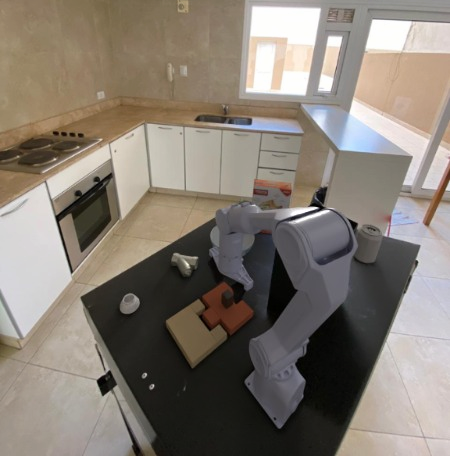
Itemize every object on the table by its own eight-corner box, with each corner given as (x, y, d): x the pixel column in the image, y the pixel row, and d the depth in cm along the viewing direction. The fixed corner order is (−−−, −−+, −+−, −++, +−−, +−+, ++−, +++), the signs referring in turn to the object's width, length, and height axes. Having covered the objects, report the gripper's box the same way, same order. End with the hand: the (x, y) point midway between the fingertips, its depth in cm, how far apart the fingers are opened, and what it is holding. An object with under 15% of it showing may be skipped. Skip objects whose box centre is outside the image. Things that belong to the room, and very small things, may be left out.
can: (375, 254, 91) (384, 227, 86) (374, 268, 85) (383, 239, 80) (352, 246, 94) (360, 219, 90) (350, 258, 88) (358, 230, 84)
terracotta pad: (252, 316, 67) (254, 301, 65) (221, 343, 61) (222, 327, 59) (224, 286, 76) (224, 272, 74) (193, 307, 69) (193, 292, 67)
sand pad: (226, 339, 62) (227, 333, 61) (192, 368, 55) (192, 363, 55) (198, 303, 70) (198, 298, 69) (166, 326, 64) (165, 320, 63)
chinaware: (247, 275, 80) (249, 256, 77) (203, 262, 84) (203, 244, 81) (256, 244, 93) (258, 227, 90) (218, 235, 97) (218, 218, 94)
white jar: (119, 301, 70) (120, 317, 65) (118, 294, 68) (119, 309, 64) (138, 295, 72) (140, 310, 67) (137, 287, 71) (140, 302, 66)
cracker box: (248, 232, 100) (253, 185, 92) (249, 223, 105) (254, 178, 98) (284, 237, 98) (292, 189, 90) (284, 227, 103) (291, 182, 96)
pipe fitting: (192, 281, 77) (198, 263, 83) (191, 272, 76) (198, 255, 82) (167, 276, 79) (175, 259, 85) (166, 267, 77) (174, 250, 83)
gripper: (263, 260, 59) (258, 302, 64) (224, 228, 69) (222, 267, 74) (242, 275, 55) (238, 318, 59) (203, 239, 65) (202, 279, 70)
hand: (228, 291), depth 66 cm, fingers open, 7 cm apart
